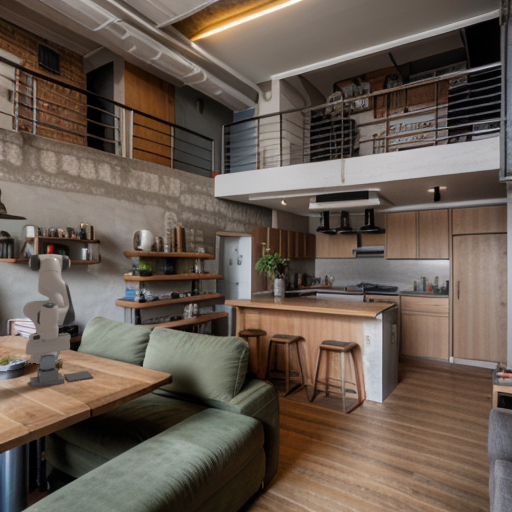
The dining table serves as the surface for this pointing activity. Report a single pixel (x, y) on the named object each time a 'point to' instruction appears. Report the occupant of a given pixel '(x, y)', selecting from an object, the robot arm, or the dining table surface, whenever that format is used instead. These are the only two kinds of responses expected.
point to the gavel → (59, 364)
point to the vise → (46, 377)
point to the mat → (78, 376)
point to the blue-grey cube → (47, 361)
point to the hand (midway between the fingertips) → (47, 360)
